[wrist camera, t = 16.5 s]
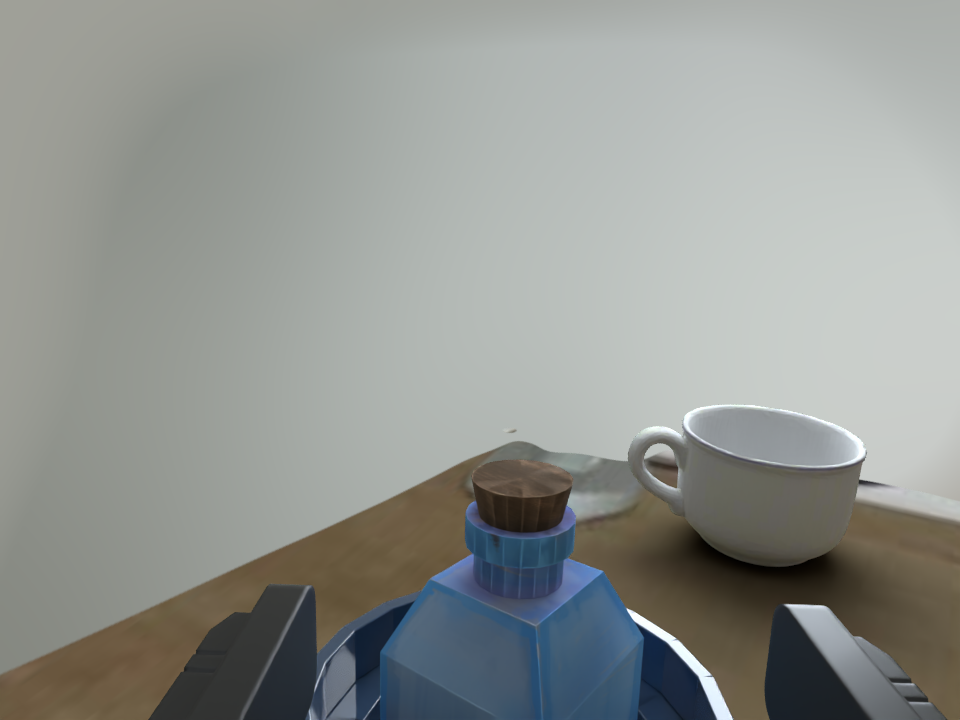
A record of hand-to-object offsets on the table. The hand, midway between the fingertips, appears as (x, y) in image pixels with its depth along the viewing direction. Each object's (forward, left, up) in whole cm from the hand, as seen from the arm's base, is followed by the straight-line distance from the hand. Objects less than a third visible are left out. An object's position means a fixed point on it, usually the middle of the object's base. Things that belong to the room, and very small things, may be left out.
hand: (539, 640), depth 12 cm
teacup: (+15, +32, -14) cm, 38 cm away
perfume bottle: (0, +10, -13) cm, 16 cm away
